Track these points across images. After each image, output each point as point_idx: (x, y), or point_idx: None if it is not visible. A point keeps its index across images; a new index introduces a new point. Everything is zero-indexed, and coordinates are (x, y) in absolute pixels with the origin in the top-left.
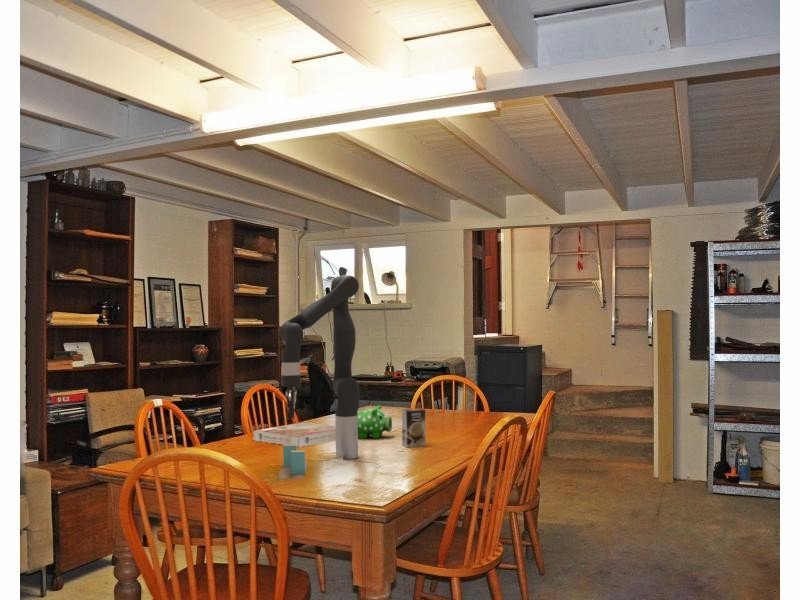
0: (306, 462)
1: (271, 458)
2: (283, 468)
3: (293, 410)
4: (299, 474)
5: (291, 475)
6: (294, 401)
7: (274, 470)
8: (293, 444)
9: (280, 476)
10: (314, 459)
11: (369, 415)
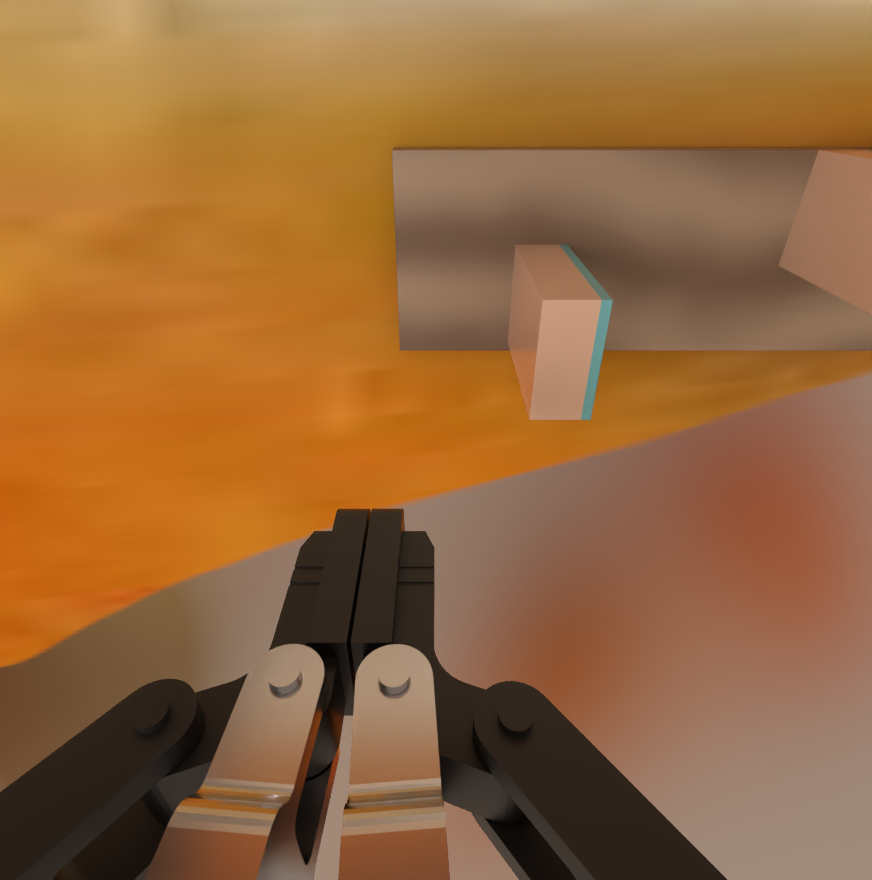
0: (413, 170)
1: (156, 441)
2: None
3: (394, 619)
4: None
5: None
6: (446, 847)
7: None
8: (541, 335)
9: (855, 333)
10: (148, 103)
11: None
